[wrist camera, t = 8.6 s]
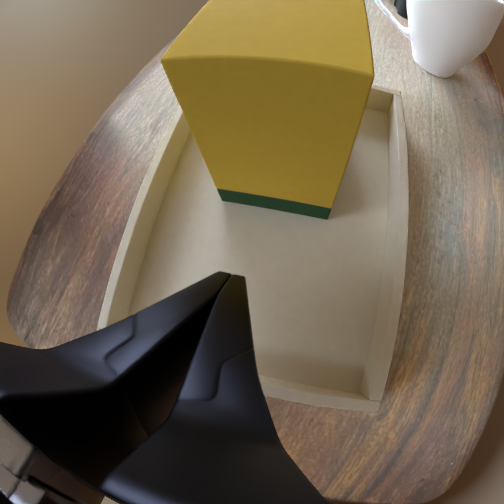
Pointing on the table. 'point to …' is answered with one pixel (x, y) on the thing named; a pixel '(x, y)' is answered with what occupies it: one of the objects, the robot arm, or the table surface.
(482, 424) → the table surface
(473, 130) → the table surface
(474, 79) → the table surface
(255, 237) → the tray
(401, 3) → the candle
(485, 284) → the table surface
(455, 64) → the mug
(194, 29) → the block
